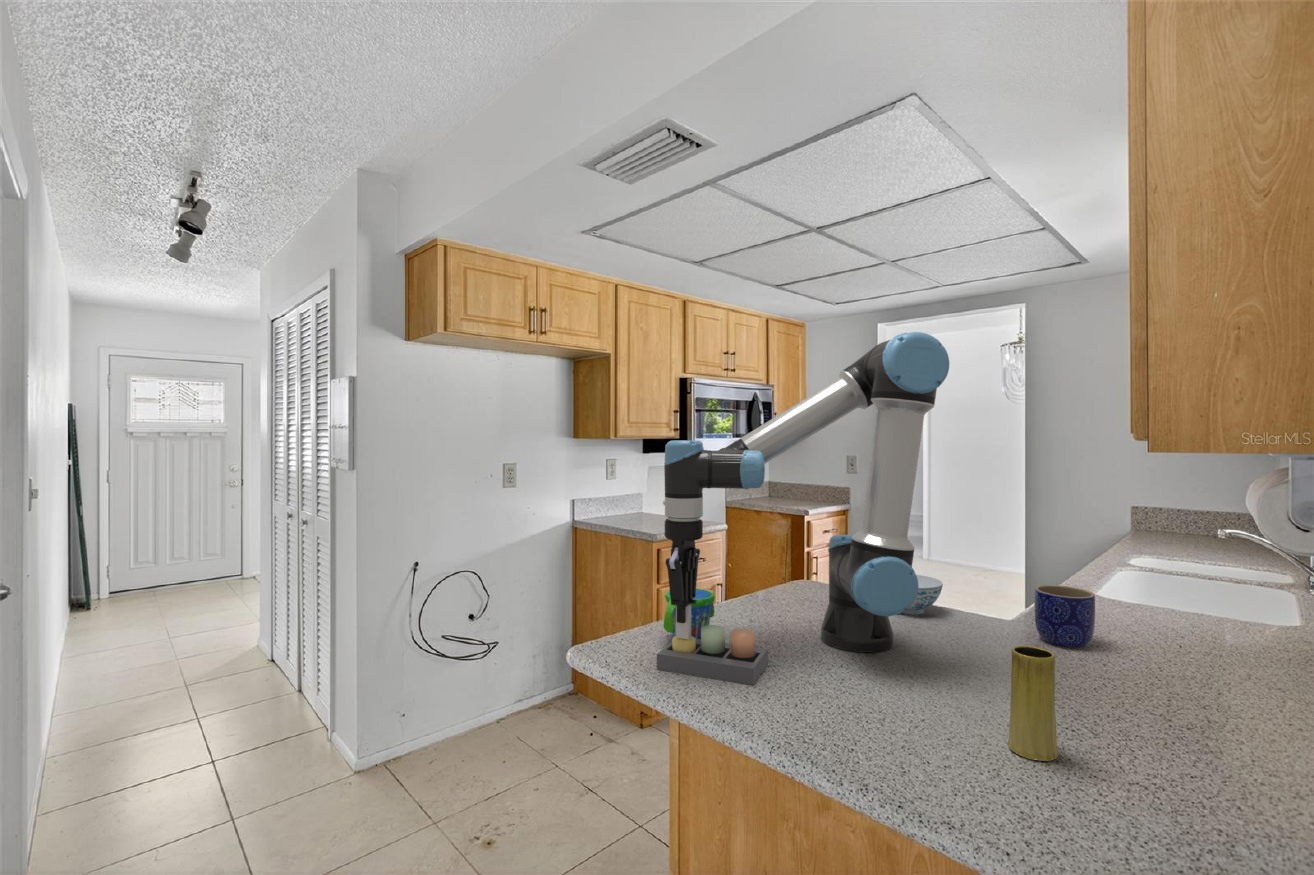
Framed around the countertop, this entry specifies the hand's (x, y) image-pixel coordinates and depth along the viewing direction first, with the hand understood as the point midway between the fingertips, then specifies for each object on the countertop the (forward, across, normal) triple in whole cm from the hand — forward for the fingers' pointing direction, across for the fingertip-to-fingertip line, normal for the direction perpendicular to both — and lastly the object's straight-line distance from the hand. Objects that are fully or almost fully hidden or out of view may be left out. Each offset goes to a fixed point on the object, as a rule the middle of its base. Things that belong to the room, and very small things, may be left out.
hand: (683, 637), depth 124 cm
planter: (+5, -42, +71) cm, 83 cm away
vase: (+5, +12, +58) cm, 60 cm away
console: (+5, 0, +6) cm, 8 cm away
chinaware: (+5, -56, +40) cm, 69 cm away
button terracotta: (+2, 0, +12) cm, 12 cm away
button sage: (+2, 0, +6) cm, 6 cm away
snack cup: (+5, -13, -4) cm, 15 cm away
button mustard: (+4, 0, 0) cm, 4 cm away
